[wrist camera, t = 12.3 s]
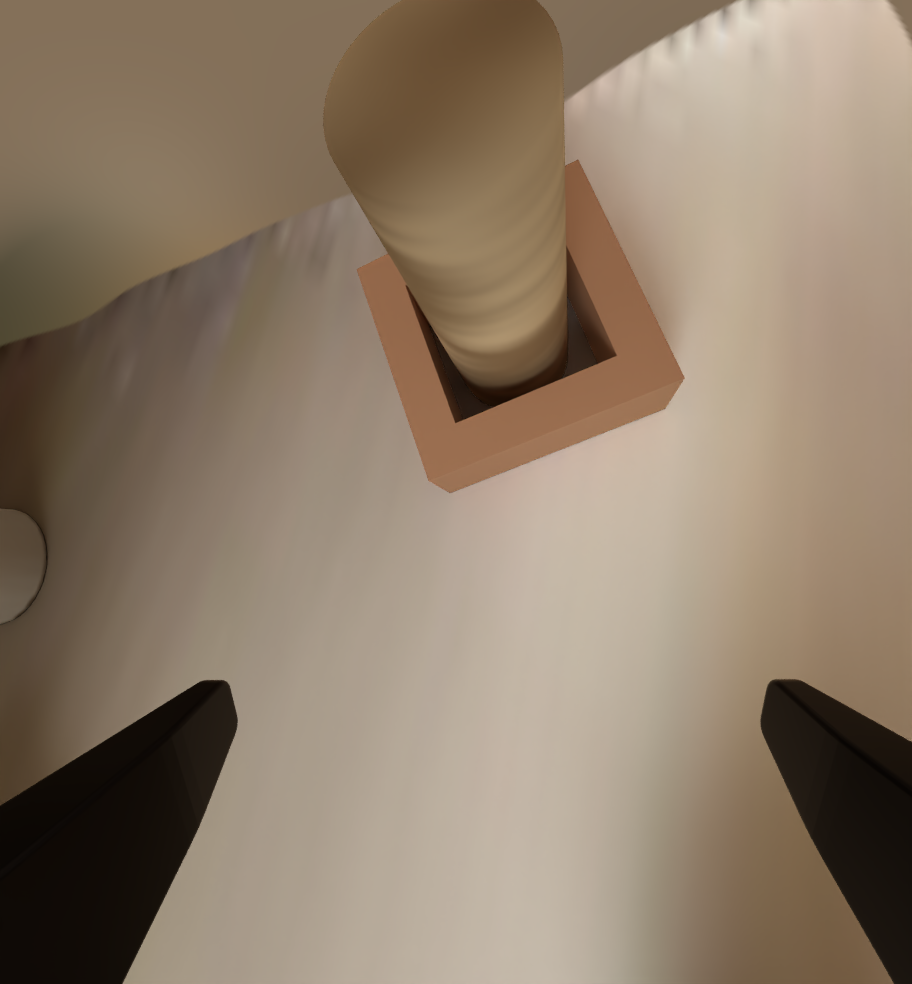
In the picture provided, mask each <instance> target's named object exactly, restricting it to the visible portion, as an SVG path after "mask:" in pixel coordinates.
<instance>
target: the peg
mask: <svg viewBox="0 0 912 984" xmlns="http://www.w3.org/2000/svg"><path fill="white" fill-rule="evenodd" d="M563 91H564V88H563V54H562V46H561V41H560V37H559V33H558V31H557V29H556V26H555V25H554V22H553V20H552V19H551V17H550V16H549V14H548V13H547V11H546V10H545V9H544V8H543V7H542V6H541V5H540V4H539V3H538V2H537V1H536V0H402V1H400V2H398V3H396V4H395V5H393V6H392V7H391V8H389V9H388V10H386V11H385V12H383V13H382V14H381V15H380V16H378V17H377V18H376V19H375V20H374V21H372V22H371V23H370V24H369V25H368V26H367V27H366V28H365V29H364V30H363V31H362V32H361V33H360V34H359V36H358V37H357V38H356V39H355V41H354V42H353V43H352V44H351V45H350V47H349V48H348V50H347V51H346V53H345V54H344V56H343V57H342V59H341V61H340V63H339V64H338V66H337V68H336V70H335V72H334V75H333V77H332V80H331V82H330V85H329V88H328V92H327V95H326V99H325V106H324V118H323V119H324V121H323V126H324V134H325V140H326V143H327V147H328V150H329V152H330V155H331V157H332V159H333V161H334V163H335V164H336V166H337V168H338V170H339V171H340V173H341V175H342V176H343V178H344V180H345V181H346V183H347V185H348V186H349V188H350V190H351V191H352V193H353V195H354V197H355V198H356V200H357V202H358V203H359V205H360V207H361V208H362V210H363V212H364V213H365V215H366V217H367V218H368V220H369V222H370V224H371V225H372V227H373V229H374V230H375V232H376V234H377V235H378V237H379V239H380V240H381V242H382V244H383V245H384V247H385V249H386V250H387V252H388V254H389V256H390V257H391V259H392V261H393V262H394V264H395V266H396V267H397V269H398V271H399V272H400V274H401V276H402V277H403V279H404V281H405V282H406V284H407V286H408V288H409V289H410V291H411V293H412V294H413V296H414V298H415V299H416V301H417V303H418V304H419V306H420V308H421V309H422V311H423V313H424V315H425V316H426V318H427V320H428V321H429V323H430V325H431V326H432V328H433V330H434V331H435V333H436V335H437V336H438V338H439V340H440V341H441V343H442V345H443V347H444V348H445V350H446V352H447V353H448V355H449V357H450V358H451V360H452V362H453V363H454V365H455V367H456V368H457V370H458V372H459V374H460V375H461V377H462V379H463V380H464V382H465V384H466V385H467V387H468V388H469V390H470V391H471V392H472V393H473V394H474V396H476V397H477V398H478V399H479V400H481V401H482V402H484V403H486V404H488V405H490V406H493V407H496V406H498V405H500V404H503V403H505V402H508V401H510V400H512V399H515V398H517V397H520V396H522V395H524V394H527V393H529V392H532V391H534V390H536V389H539V388H541V387H544V386H546V385H548V384H551V383H553V382H555V381H558V380H560V379H561V378H562V376H563V374H564V371H565V369H566V365H567V360H568V325H567V265H566V206H565V146H564V92H563Z"/></svg>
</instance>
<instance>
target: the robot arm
mask: <svg viewBox="0 0 912 984" xmlns="http://www.w3.org/2000/svg"><path fill="white" fill-rule="evenodd" d="M237 723H238V719H237V713H236V709H235V705H234V701H233V697H232V693H231V689H230V686H229V684H228V683H227V682H226V681H224V680H204V681H201V682H199V683H197V684H195V685H194V686H192V687H191V688H189V689H187V690H186V691H184V692H183V693H181V694H179V695H178V696H176V697H174V698H173V699H171V700H170V701H168V702H166V703H165V704H163V705H162V706H160V707H158V708H157V709H155V710H154V711H152V712H150V713H149V714H147V715H146V716H144V717H142V718H141V719H139V720H137V721H136V722H134V723H133V724H131V725H129V726H128V727H126V728H125V729H123V730H121V731H120V732H118V733H117V734H115V735H113V736H112V737H110V738H109V739H107V740H105V741H104V742H102V743H100V744H99V745H97V746H96V747H94V748H92V749H91V750H89V751H88V752H86V753H84V754H83V755H81V756H80V757H78V758H76V759H75V760H73V761H72V762H70V763H68V764H67V765H65V766H63V767H62V768H60V769H59V770H57V771H55V772H54V773H52V774H51V775H49V776H47V777H46V778H44V779H43V780H41V781H39V782H38V783H36V784H35V785H33V786H31V787H30V788H28V789H26V790H25V791H23V792H22V793H20V794H18V795H17V796H15V797H14V798H12V799H10V800H9V801H7V802H6V803H4V804H2V805H1V806H0V984H123V982H124V980H125V978H126V976H127V973H128V971H129V969H130V967H131V965H132V963H133V961H134V959H135V957H136V955H137V953H138V951H139V949H140V947H141V945H142V943H143V941H144V939H145V937H146V935H147V933H148V931H149V929H150V927H151V925H152V923H153V921H154V918H155V916H156V914H157V912H158V910H159V908H160V906H161V904H162V902H163V900H164V898H165V896H166V894H167V892H168V890H169V888H170V886H171V884H172V882H173V880H174V878H175V876H176V874H177V872H178V870H179V868H180V866H181V863H182V861H183V859H184V857H185V855H186V853H187V851H188V849H189V847H190V845H191V843H192V841H193V839H194V837H195V834H196V832H197V830H198V828H199V826H200V823H201V821H202V819H203V816H204V814H205V811H206V809H207V806H208V804H209V801H210V798H211V796H212V793H213V791H214V788H215V785H216V783H217V780H218V778H219V775H220V772H221V770H222V767H223V765H224V762H225V759H226V757H227V754H228V752H229V749H230V746H231V744H232V741H233V739H234V736H235V733H236V730H237ZM761 730H762V733H763V736H764V738H765V740H766V743H767V745H768V747H769V749H770V751H771V753H772V756H773V758H774V760H775V762H776V764H777V766H778V769H779V771H780V773H781V775H782V777H783V779H784V782H785V784H786V786H787V788H788V790H789V792H790V795H791V797H792V799H793V801H794V803H795V805H796V808H797V810H798V812H799V814H800V816H801V818H802V821H803V823H804V825H805V827H806V829H807V831H808V833H809V835H810V837H811V839H812V840H813V842H814V844H815V846H816V848H817V850H818V851H819V853H820V855H821V857H822V859H823V860H824V862H825V864H826V866H827V867H828V869H829V871H830V873H831V874H832V876H833V878H834V880H835V881H836V883H837V885H838V887H839V888H840V890H841V892H842V894H843V895H844V897H845V899H846V901H847V902H848V904H849V906H850V908H851V909H852V911H853V913H854V915H855V916H856V918H857V920H858V921H859V923H860V925H861V927H862V928H863V930H864V932H865V934H866V935H867V937H868V939H869V941H870V942H871V944H872V946H873V948H874V949H875V951H876V953H877V955H878V956H879V958H880V960H881V962H882V963H883V965H884V967H885V969H886V970H887V972H888V974H889V976H890V977H891V979H892V981H893V983H894V984H912V742H911V741H909V740H907V739H905V738H903V737H902V736H900V735H898V734H896V733H894V732H893V731H891V730H889V729H887V728H885V727H884V726H882V725H880V724H878V723H876V722H875V721H873V720H871V719H869V718H867V717H866V716H864V715H862V714H860V713H858V712H857V711H855V710H853V709H851V708H849V707H848V706H846V705H844V704H842V703H841V702H839V701H837V700H835V699H833V698H832V697H830V696H828V695H826V694H824V693H823V692H821V691H819V690H817V689H815V688H814V687H812V686H810V685H808V684H806V683H805V682H803V681H800V680H796V679H775V680H772V681H770V683H769V684H768V686H767V690H766V695H765V700H764V704H763V709H762V714H761Z"/></svg>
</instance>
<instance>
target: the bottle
mask: <svg viewBox="0 0 912 984" xmlns="http://www.w3.org/2000/svg"><path fill="white" fill-rule="evenodd" d="M46 555H47V550H46V544H45V542H44V536H43V534H42V531H41V529H40V528H39V527H38V525H37V523H36V522H35V521H34V520H33V519H32V518H31V517H30V516H29V515H27V514H26V513H23V512H21V511H18V510H14V509H0V624H4V623H7V622H10V621H12V620H14V619H15V618H17V617H19V616H20V615H21V614H22V613H23V612H25V610H26V609H27V608H28V607H29V606H30V605H31V604H32V602H33V601H34V599H35V598H36V595H37V593H38V592H39V590H40V588H41V585H42V583H43V576H44V574H45V572H46V565H47V561H46Z"/></svg>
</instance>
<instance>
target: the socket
mask: <svg viewBox="0 0 912 984" xmlns="http://www.w3.org/2000/svg"><path fill="white" fill-rule="evenodd" d="M565 206H566V265H567V296H568V298H569V300H570V303H571V305H572V307H573V309H574V311H575V314H576V316H577V318H578V320H579V323H580V325H581V327H582V329H583V332H584V334H585V336H586V338H587V341H588V343H589V345H590V347H591V350H592V352H593V354H594V356H595V358H596V361H597V363H598V364H596V365H594V366H591V367H589V368H587V369H584V370H582V371H579V372H577V373H575V374H572V375H570V376H567V377H565V378H563V379H560V380H558V381H555V382H553V383H551V384H548V385H546V386H544V387H541V388H539V389H536V390H534V391H532V392H529V393H527V394H524V395H522V396H520V397H517V398H515V399H512V400H510V401H508V402H505V403H503V404H500V405H498V406H496V407H493V408H491V409H489V410H486V411H484V412H481V413H479V414H477V415H474V416H472V417H469V418H467V419H465V420H463V417H462V414H461V412H460V409H459V406H458V404H457V401H456V398H455V395H454V393H453V390H452V387H451V384H450V382H449V379H448V376H447V374H446V371H445V368H444V365H443V363H442V360H441V357H440V355H439V352H438V349H437V346H436V344H435V341H434V338H433V336H432V333H431V330H430V327H429V325H430V323H429V321H428V320H427V318H426V316H425V315H424V313H423V311H422V309H421V308H420V306H419V304H418V303H417V301H416V299H415V298H414V296H413V294H412V293H411V291H410V289H409V288H408V286H407V284H406V282H405V281H404V279H403V277H402V276H401V274H400V272H399V271H398V269H397V267H396V266H395V264H394V262H393V261H392V259H391V257H390V256H389V254H386V255H384V256H382V257H380V258H378V259H376V260H374V261H372V262H370V263H368V264H366V265H364V266H362V267H360V268H358V269H357V272H358V275H359V278H360V281H361V283H362V286H363V289H364V292H365V295H366V298H367V301H368V304H369V307H370V310H371V313H372V316H373V319H374V322H375V325H376V328H377V331H378V333H379V336H380V339H381V342H382V345H383V348H384V351H385V354H386V357H387V360H388V363H389V366H390V369H391V372H392V375H393V378H394V380H395V383H396V386H397V389H398V392H399V395H400V398H401V401H402V404H403V407H404V410H405V413H406V416H407V419H408V422H409V425H410V428H411V430H412V433H413V436H414V439H415V442H416V445H417V448H418V451H419V454H420V457H421V460H422V463H423V466H424V469H425V472H426V475H427V478H428V480H429V481H430V482H432V483H433V484H435V485H437V486H439V487H440V488H442V489H444V490H446V491H447V492H449V493H451V492H454V491H457V490H459V489H462V488H464V487H467V486H469V485H472V484H474V483H477V482H479V481H482V480H485V479H487V478H490V477H492V476H495V475H497V474H500V473H502V472H505V471H507V470H510V469H513V468H515V467H518V466H520V465H523V464H525V463H528V462H530V461H533V460H535V459H538V458H541V457H543V456H546V455H548V454H551V453H553V452H556V451H558V450H561V449H564V448H566V447H569V446H571V445H574V444H576V443H579V442H581V441H584V440H586V439H589V438H592V437H594V436H597V435H599V434H602V433H604V432H607V431H609V430H612V429H614V428H617V427H620V426H622V425H625V424H627V423H630V422H632V421H635V420H637V419H640V418H642V417H645V416H648V415H650V414H653V413H655V412H658V411H660V410H663V409H665V408H666V406H667V405H668V403H669V402H670V400H671V399H672V397H673V396H674V394H675V392H676V391H677V389H678V388H679V386H680V385H681V383H682V382H683V380H684V376H683V374H682V372H681V370H680V367H679V365H678V363H677V361H676V359H675V357H674V355H673V353H672V351H671V349H670V347H669V345H668V343H667V341H666V339H665V337H664V335H663V333H662V331H661V329H660V326H659V324H658V322H657V320H656V318H655V316H654V314H653V312H652V310H651V308H650V306H649V304H648V302H647V300H646V298H645V296H644V294H643V292H642V290H641V288H640V285H639V283H638V281H637V279H636V277H635V275H634V273H633V271H632V269H631V267H630V265H629V263H628V261H627V259H626V257H625V255H624V253H623V251H622V249H621V247H620V245H619V242H618V240H617V238H616V236H615V234H614V232H613V230H612V228H611V226H610V224H609V222H608V220H607V218H606V216H605V214H604V212H603V210H602V208H601V206H600V204H599V201H598V199H597V197H596V195H595V193H594V191H593V189H592V187H591V185H590V183H589V181H588V179H587V177H586V175H585V173H584V171H583V169H582V167H581V165H580V163H579V160H576V161H574V162H572V163H570V164H568V165H566V166H565Z"/></svg>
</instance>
